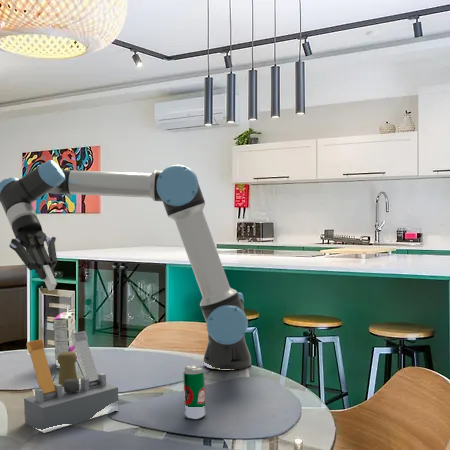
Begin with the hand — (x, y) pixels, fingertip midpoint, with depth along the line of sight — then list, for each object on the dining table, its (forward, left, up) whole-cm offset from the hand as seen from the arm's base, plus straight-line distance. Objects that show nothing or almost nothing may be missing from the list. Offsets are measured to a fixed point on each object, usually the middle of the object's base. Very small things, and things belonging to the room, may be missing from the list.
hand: (52, 287), depth 154 cm
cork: (+4, -10, -31) cm, 33 cm away
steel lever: (-13, +2, -24) cm, 27 cm away
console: (-10, +7, -31) cm, 33 cm away
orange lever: (-8, +12, -24) cm, 28 cm away
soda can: (-39, -2, -31) cm, 50 cm away
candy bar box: (+23, -34, -31) cm, 51 cm away
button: (-10, +7, -25) cm, 28 cm away
